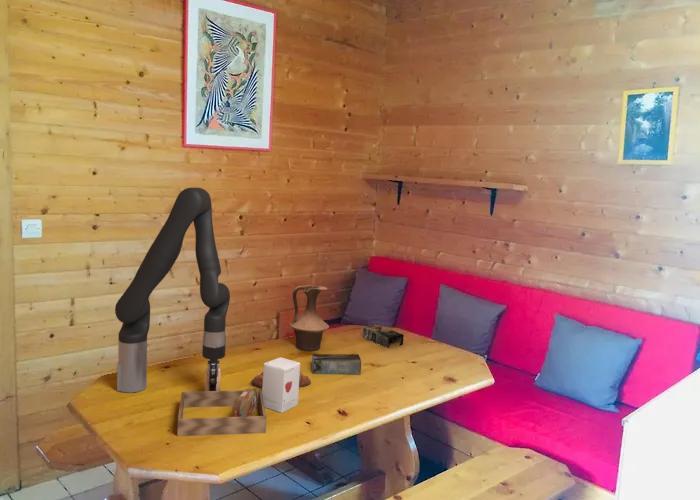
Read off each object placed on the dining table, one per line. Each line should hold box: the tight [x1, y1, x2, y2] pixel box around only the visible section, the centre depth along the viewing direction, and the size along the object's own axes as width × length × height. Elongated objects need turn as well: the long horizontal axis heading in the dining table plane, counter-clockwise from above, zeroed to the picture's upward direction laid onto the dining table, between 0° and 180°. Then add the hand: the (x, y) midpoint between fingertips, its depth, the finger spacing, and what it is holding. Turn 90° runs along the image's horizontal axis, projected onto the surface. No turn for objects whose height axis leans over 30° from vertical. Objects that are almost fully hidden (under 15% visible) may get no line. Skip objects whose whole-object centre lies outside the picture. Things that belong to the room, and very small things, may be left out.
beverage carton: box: [311, 353, 362, 375], centre depth 237 cm, size 8×19×7 cm, turn 98°
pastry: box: [250, 371, 312, 389], centre depth 219 cm, size 17×15×8 cm
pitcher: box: [288, 284, 330, 352], centre depth 261 cm, size 18×17×28 cm
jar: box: [204, 367, 222, 391], centre depth 205 cm, size 5×5×10 cm
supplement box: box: [261, 356, 301, 414], centre depth 200 cm, size 9×9×15 cm
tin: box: [232, 388, 258, 417], centre depth 190 cm, size 15×3×8 cm, turn 168°
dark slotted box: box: [361, 324, 405, 349], centre depth 279 cm, size 20×10×6 cm, turn 38°
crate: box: [176, 389, 267, 437], centre depth 188 cm, size 26×21×5 cm
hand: (212, 390), depth 205 cm, fingers closed on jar, 5 cm apart
